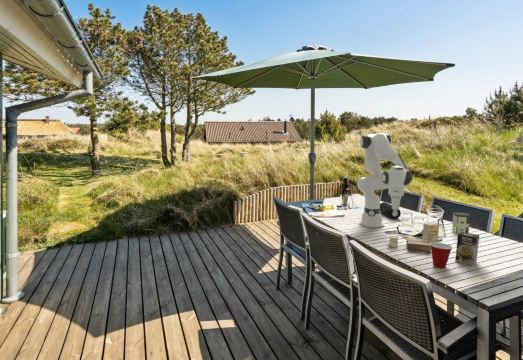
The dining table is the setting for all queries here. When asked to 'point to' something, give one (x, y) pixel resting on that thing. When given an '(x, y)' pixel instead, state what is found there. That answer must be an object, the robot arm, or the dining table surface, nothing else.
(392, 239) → the maple block
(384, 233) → the dining table surface
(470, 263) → the coffee box
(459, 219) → the coffee can
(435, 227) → the supplement box
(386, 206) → the portable speaker
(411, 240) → the walnut block
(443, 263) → the plastic cup
